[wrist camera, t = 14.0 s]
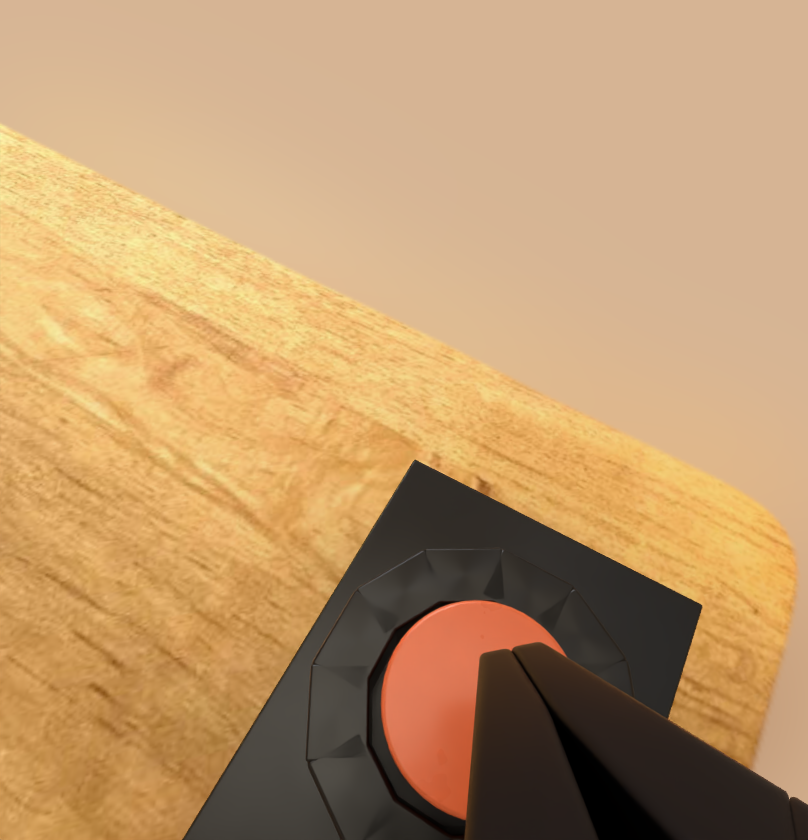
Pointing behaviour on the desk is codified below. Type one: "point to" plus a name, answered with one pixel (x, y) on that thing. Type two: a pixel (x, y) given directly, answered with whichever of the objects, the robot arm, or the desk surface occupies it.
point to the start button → (445, 693)
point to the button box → (382, 631)
